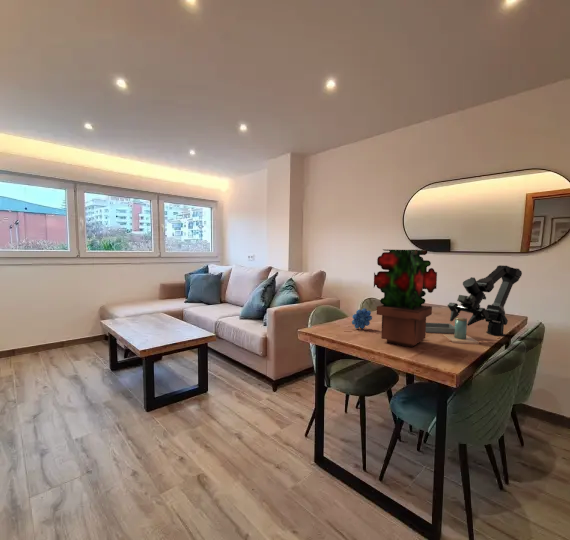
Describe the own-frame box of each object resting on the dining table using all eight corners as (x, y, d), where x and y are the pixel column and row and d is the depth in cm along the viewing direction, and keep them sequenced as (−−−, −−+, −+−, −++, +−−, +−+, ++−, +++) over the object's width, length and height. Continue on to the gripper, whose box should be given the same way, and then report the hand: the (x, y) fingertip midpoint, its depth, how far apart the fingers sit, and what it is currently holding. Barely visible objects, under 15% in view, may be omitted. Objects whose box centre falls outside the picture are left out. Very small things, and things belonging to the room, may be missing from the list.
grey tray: (449, 329, 171) (449, 323, 171) (458, 335, 159) (459, 328, 159) (416, 328, 173) (416, 322, 173) (423, 333, 161) (423, 327, 161)
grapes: (369, 327, 174) (369, 306, 173) (373, 330, 167) (373, 309, 167) (349, 327, 174) (350, 306, 173) (352, 330, 167) (353, 308, 166)
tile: (467, 337, 155) (467, 335, 155) (478, 344, 144) (478, 342, 144) (442, 336, 157) (442, 334, 157) (452, 342, 145) (452, 340, 145)
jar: (457, 335, 154) (458, 316, 153) (468, 338, 150) (469, 318, 149) (452, 337, 151) (453, 317, 150) (463, 339, 147) (463, 319, 146)
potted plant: (372, 342, 144) (374, 249, 141) (389, 333, 161) (392, 250, 158) (420, 352, 129) (424, 249, 127) (434, 341, 146) (438, 250, 144)
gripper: (450, 287, 159) (435, 309, 155) (486, 291, 142) (470, 316, 138) (459, 301, 163) (445, 322, 159) (495, 307, 146) (480, 331, 142)
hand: (459, 322), depth 149 cm, fingers open, 9 cm apart
